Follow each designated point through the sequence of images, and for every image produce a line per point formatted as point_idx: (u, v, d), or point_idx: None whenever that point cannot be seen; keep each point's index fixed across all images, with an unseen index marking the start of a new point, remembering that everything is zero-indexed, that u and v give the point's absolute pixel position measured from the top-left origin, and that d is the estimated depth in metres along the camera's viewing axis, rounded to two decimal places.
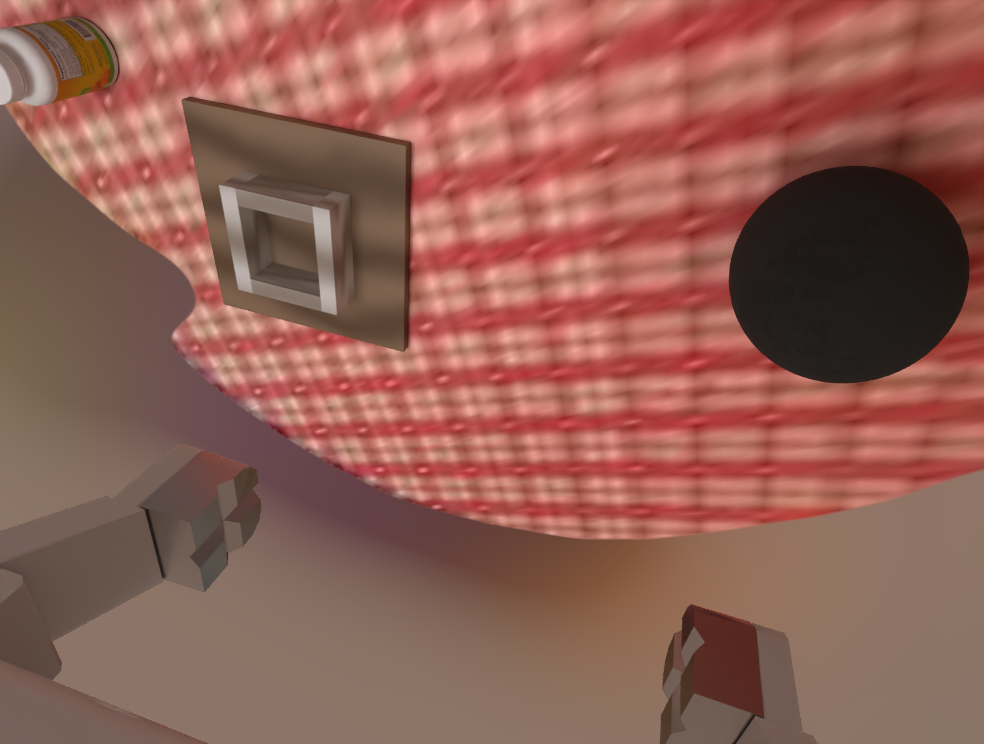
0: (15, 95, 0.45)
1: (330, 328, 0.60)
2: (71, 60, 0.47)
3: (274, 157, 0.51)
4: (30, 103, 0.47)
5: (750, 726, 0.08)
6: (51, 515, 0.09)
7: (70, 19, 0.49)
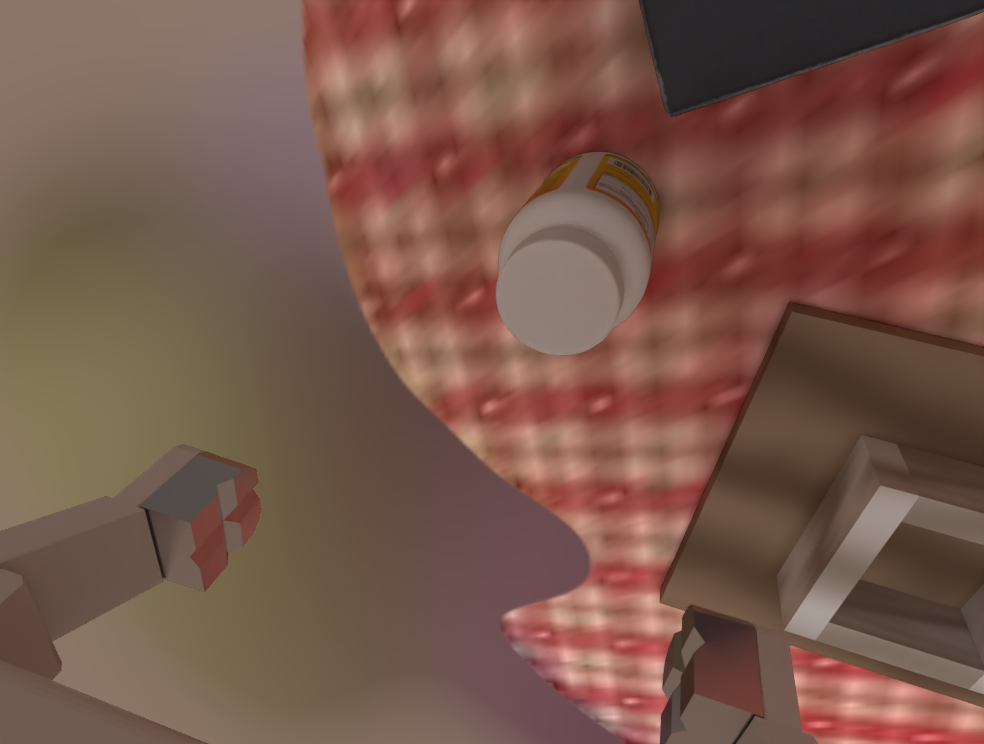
0: None
1: (876, 666, 0.34)
2: (653, 248, 0.22)
3: (958, 423, 0.26)
4: None
5: (750, 726, 0.08)
6: (51, 515, 0.09)
7: (614, 159, 0.24)
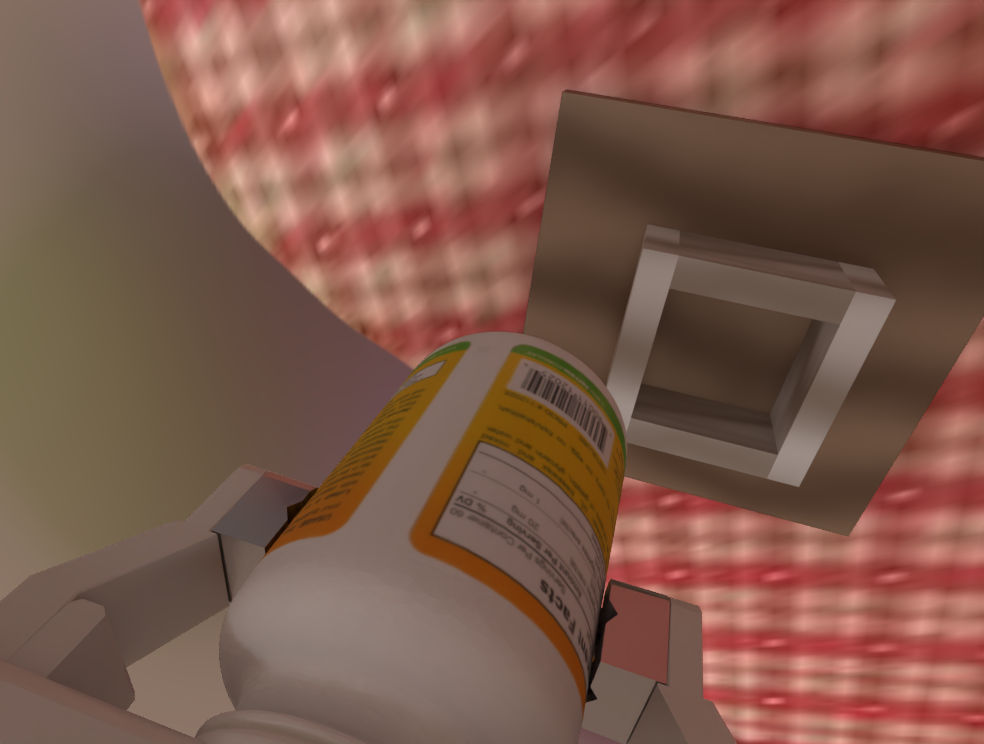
0: None
1: (708, 491, 0.35)
2: (599, 607, 0.10)
3: (729, 199, 0.27)
4: None
5: (653, 693, 0.09)
6: (125, 541, 0.09)
7: (529, 365, 0.12)
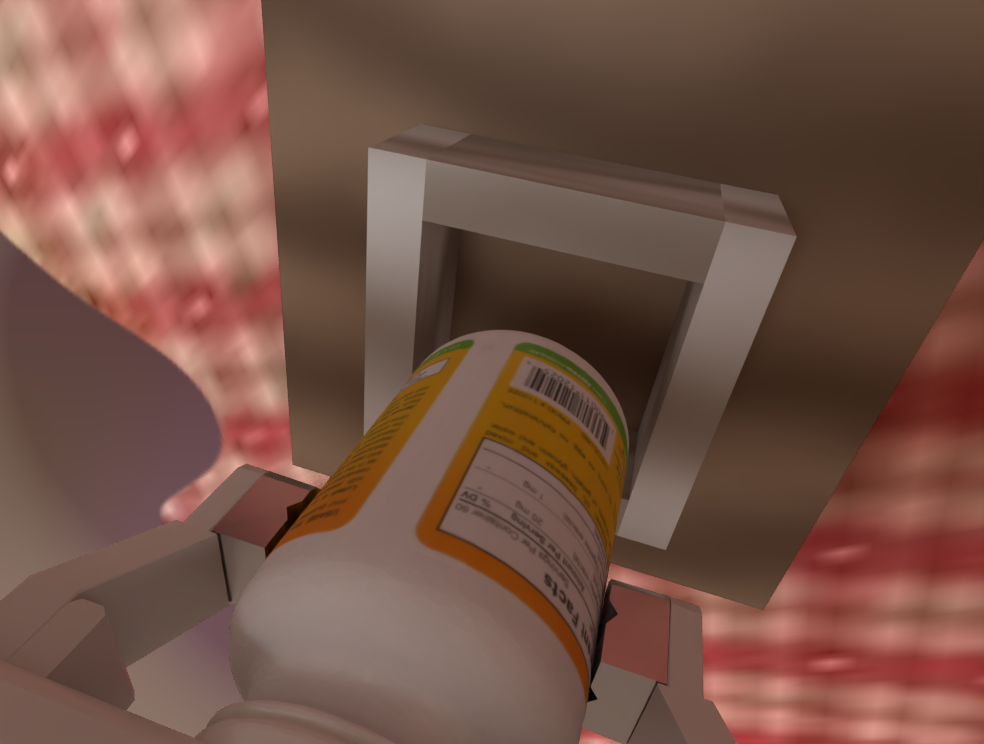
0: None
1: None
2: (602, 601, 0.10)
3: (538, 75, 0.16)
4: None
5: (654, 693, 0.09)
6: (125, 541, 0.09)
7: (532, 362, 0.12)
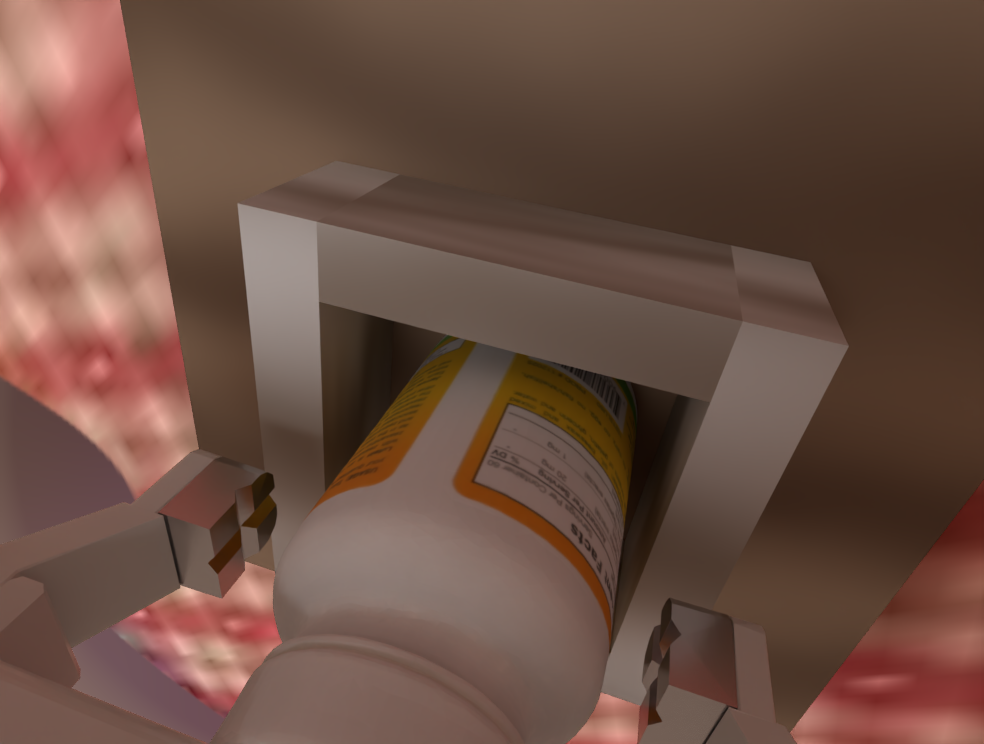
0: None
1: None
2: None
3: (484, 98, 0.12)
4: None
5: (724, 717, 0.08)
6: (70, 521, 0.09)
7: None
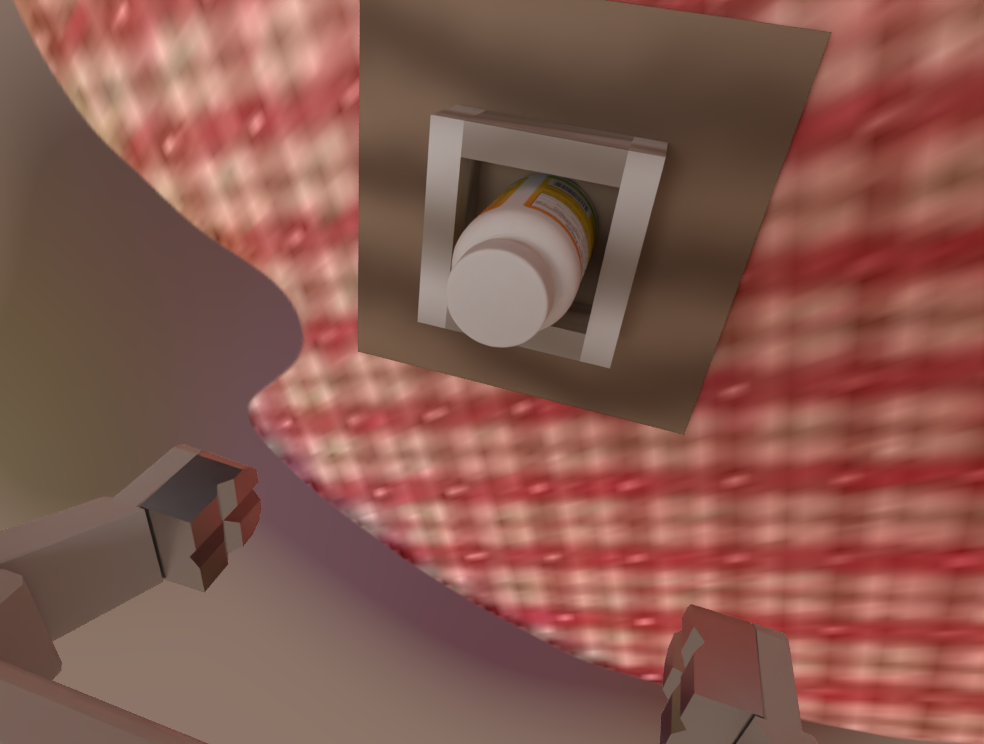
0: (535, 333, 0.23)
1: (550, 393, 0.35)
2: (586, 257, 0.26)
3: (526, 74, 0.27)
4: None
5: (750, 726, 0.08)
6: (51, 515, 0.09)
7: (555, 180, 0.28)
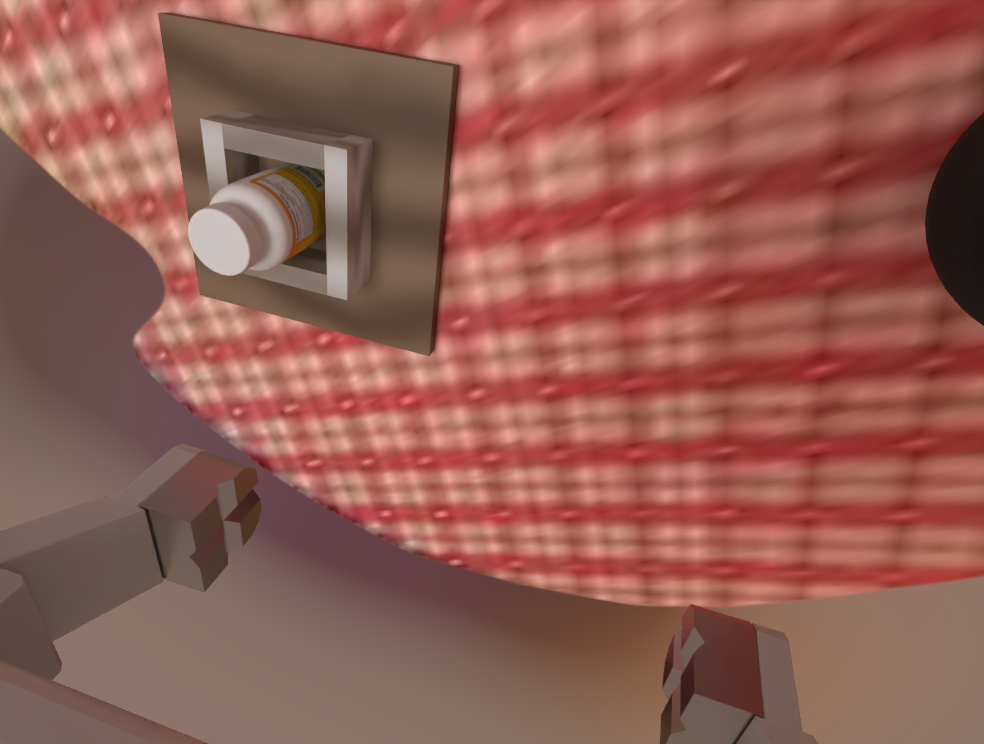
0: (249, 265, 0.35)
1: (335, 325, 0.47)
2: (306, 218, 0.38)
3: (275, 90, 0.39)
4: (251, 268, 0.38)
5: (750, 726, 0.08)
6: (51, 515, 0.09)
7: (299, 165, 0.40)
